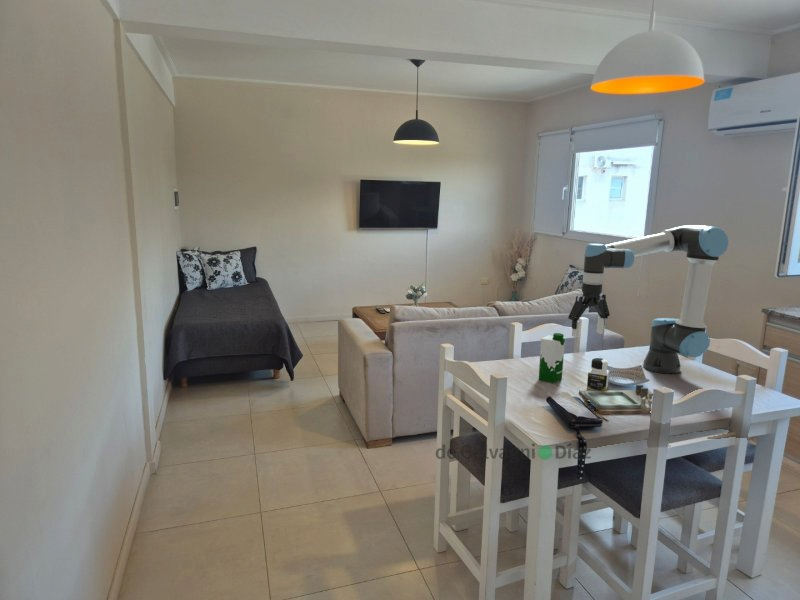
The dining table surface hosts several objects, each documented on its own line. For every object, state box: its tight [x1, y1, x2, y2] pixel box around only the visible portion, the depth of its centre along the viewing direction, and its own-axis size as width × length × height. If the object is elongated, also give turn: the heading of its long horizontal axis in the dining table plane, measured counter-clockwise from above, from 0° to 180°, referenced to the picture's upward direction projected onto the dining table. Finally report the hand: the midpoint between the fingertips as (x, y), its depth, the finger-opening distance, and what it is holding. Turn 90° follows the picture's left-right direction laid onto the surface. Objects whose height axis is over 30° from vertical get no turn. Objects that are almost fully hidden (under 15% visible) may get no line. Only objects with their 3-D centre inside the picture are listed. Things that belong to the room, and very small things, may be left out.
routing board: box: [578, 384, 654, 415], centre depth 202 cm, size 28×20×4 cm
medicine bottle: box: [586, 357, 610, 390], centre depth 216 cm, size 7×7×12 cm
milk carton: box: [538, 332, 567, 384], centre depth 224 cm, size 9×9×20 cm
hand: (587, 335), depth 218 cm, fingers open, 13 cm apart
